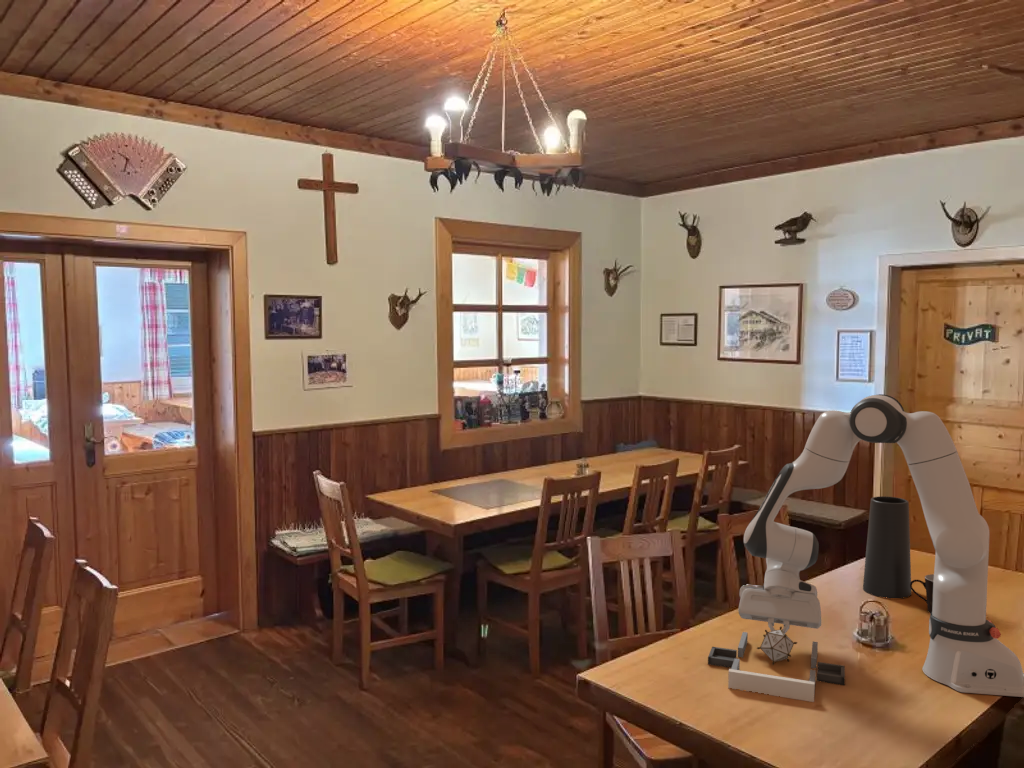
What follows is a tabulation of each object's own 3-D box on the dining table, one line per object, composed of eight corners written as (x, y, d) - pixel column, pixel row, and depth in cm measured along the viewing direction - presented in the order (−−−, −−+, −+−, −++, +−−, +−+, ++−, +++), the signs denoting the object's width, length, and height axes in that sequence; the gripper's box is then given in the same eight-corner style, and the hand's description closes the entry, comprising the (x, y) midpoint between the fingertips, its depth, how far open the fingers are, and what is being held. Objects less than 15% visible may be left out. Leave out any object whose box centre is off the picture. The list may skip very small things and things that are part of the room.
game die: (784, 678, 197) (803, 656, 191) (751, 664, 197) (769, 642, 191) (784, 648, 204) (802, 626, 198) (752, 635, 204) (770, 613, 198)
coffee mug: (963, 614, 229) (964, 580, 228) (947, 620, 224) (948, 585, 224) (923, 602, 239) (924, 569, 238) (907, 608, 234) (908, 575, 233)
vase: (859, 593, 247) (861, 501, 245) (867, 581, 258) (869, 493, 256) (907, 601, 240) (911, 506, 237) (914, 589, 251) (917, 498, 249)
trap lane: (844, 655, 201) (844, 639, 201) (844, 707, 174) (845, 689, 174) (718, 637, 213) (718, 623, 213) (700, 683, 186) (700, 666, 185)
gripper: (739, 577, 211) (734, 626, 203) (822, 587, 203) (820, 638, 195) (741, 588, 216) (736, 637, 207) (822, 598, 208) (820, 649, 200)
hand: (777, 638), depth 201 cm, fingers closed, pressing on game die
